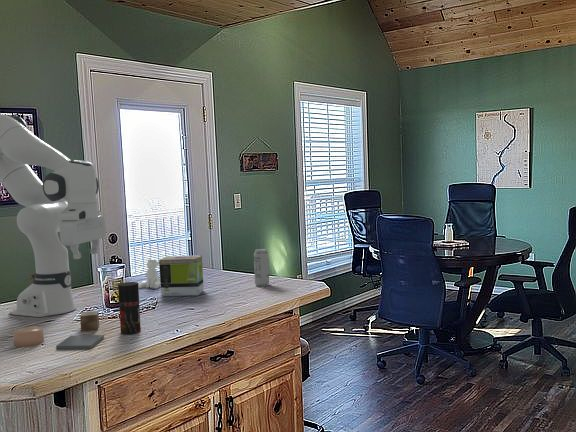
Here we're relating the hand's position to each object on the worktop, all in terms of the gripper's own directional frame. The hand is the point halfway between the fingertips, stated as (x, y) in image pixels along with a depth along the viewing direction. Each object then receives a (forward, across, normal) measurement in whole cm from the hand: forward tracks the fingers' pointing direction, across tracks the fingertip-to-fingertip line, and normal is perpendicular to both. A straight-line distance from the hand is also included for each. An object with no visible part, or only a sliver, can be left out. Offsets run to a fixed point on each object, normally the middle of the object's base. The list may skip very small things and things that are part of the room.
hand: (86, 256), depth 181 cm
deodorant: (+23, +2, +15) cm, 28 cm away
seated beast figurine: (+24, -63, -9) cm, 68 cm away
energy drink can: (+23, -69, +38) cm, 82 cm away
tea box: (+23, -51, +10) cm, 57 cm away
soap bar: (+19, +16, -10) cm, 27 cm away
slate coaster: (+23, +15, +6) cm, 28 cm away
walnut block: (+23, 0, 0) cm, 23 cm away
